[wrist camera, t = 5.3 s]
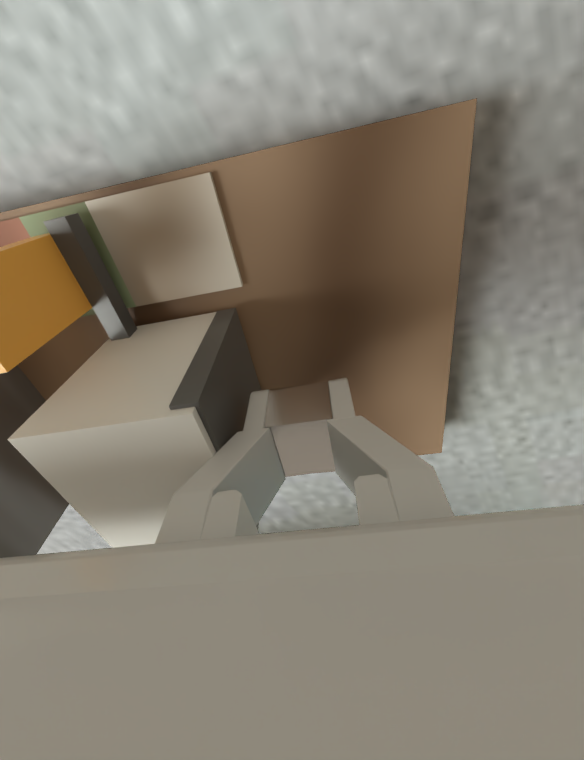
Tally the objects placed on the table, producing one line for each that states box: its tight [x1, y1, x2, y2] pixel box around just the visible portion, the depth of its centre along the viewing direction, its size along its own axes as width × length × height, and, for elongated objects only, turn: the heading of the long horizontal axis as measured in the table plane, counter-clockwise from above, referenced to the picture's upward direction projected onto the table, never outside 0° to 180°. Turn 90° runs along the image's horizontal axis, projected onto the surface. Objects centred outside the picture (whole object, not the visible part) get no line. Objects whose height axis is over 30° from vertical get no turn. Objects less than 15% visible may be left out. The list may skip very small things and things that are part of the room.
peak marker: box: [0, 233, 92, 374], centre depth 8 cm, size 1×2×4 cm, turn 11°
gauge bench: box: [0, 98, 477, 558], centre depth 10 cm, size 19×12×8 cm, turn 101°
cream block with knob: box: [7, 213, 261, 548], centre depth 9 cm, size 6×8×5 cm
